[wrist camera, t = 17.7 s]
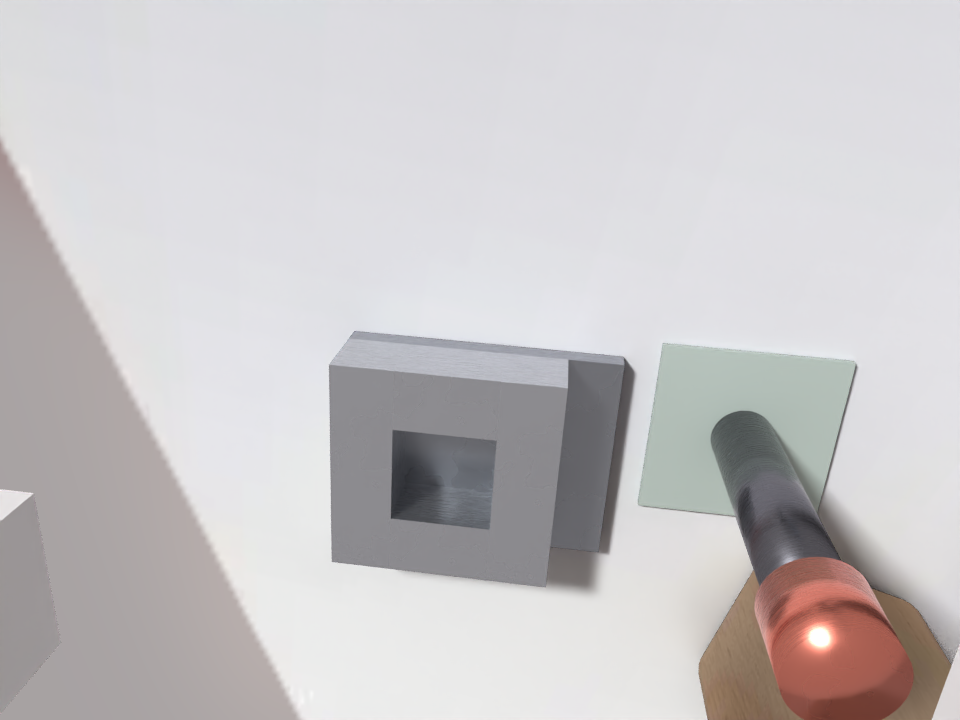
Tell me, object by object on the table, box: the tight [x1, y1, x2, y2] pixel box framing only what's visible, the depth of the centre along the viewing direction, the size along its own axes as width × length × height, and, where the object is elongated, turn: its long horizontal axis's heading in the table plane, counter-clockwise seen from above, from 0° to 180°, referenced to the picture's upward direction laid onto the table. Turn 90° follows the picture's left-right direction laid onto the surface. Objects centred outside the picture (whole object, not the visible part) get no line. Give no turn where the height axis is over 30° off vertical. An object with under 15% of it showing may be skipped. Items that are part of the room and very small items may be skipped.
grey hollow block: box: [329, 331, 625, 587], centre depth 44 cm, size 12×15×5 cm
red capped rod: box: [710, 411, 914, 720], centre depth 35 cm, size 4×4×18 cm
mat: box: [638, 343, 856, 516], centre depth 44 cm, size 10×10×1 cm
